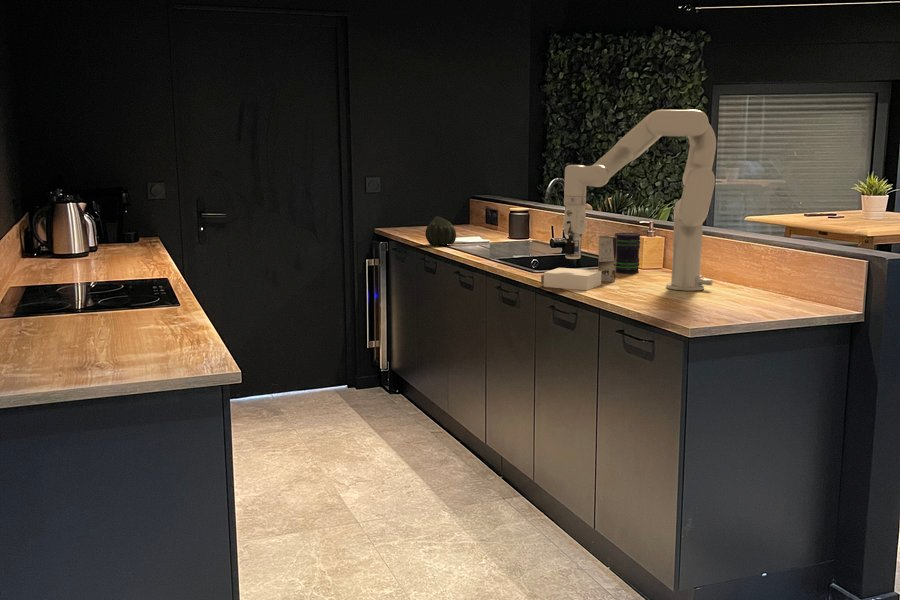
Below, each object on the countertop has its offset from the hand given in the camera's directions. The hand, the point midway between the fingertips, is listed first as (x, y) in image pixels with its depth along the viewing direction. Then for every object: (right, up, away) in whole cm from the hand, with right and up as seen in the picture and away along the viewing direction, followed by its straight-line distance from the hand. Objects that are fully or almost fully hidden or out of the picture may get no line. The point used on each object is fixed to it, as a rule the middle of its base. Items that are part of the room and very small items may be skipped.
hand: (573, 252), depth 302 cm
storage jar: (+26, -6, +35) cm, 44 cm away
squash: (-48, +10, +124) cm, 133 cm away
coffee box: (+15, -9, +16) cm, 23 cm away
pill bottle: (0, -2, 0) cm, 2 cm away
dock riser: (0, -12, +2) cm, 12 cm away
